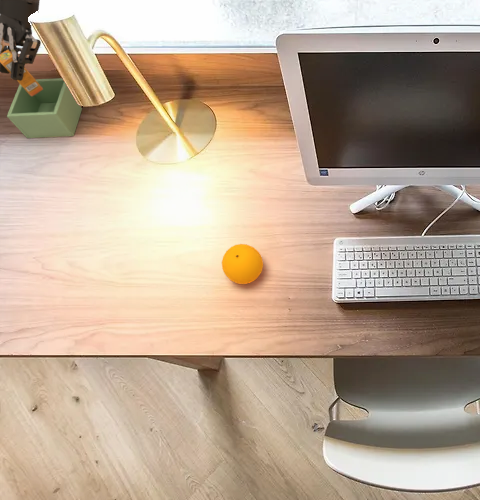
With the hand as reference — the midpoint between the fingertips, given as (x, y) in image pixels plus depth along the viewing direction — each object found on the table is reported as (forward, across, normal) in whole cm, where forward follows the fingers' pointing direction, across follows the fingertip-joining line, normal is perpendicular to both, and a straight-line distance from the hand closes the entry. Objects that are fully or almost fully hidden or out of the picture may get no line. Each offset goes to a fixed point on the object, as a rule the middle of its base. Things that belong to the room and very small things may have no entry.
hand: (10, 75), depth 108 cm
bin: (+10, 0, +12) cm, 15 cm away
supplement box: (+3, 0, +6) cm, 7 cm away
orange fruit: (+15, +67, +7) cm, 69 cm away
